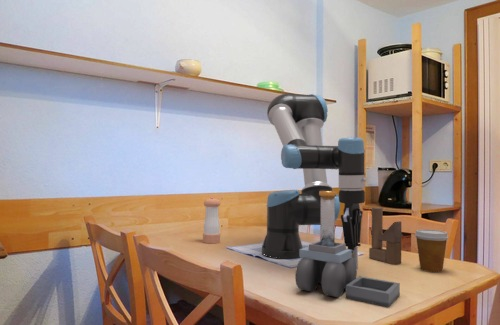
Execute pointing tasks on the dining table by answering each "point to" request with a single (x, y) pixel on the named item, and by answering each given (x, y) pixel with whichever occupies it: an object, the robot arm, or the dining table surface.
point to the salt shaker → (211, 221)
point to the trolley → (325, 268)
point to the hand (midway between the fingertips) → (352, 268)
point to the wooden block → (385, 239)
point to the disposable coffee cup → (431, 249)
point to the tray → (373, 291)
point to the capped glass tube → (327, 218)
